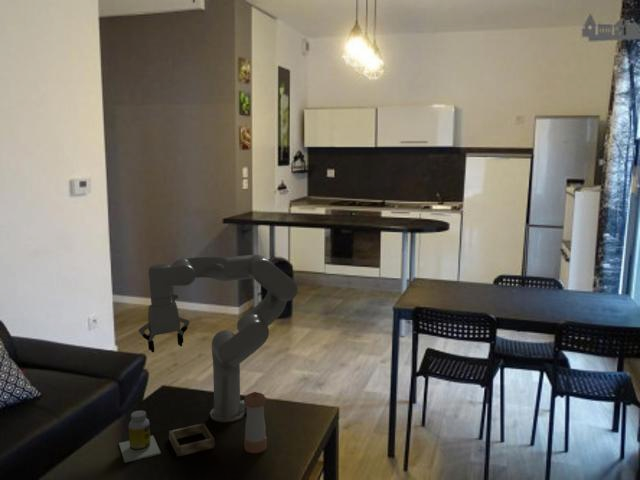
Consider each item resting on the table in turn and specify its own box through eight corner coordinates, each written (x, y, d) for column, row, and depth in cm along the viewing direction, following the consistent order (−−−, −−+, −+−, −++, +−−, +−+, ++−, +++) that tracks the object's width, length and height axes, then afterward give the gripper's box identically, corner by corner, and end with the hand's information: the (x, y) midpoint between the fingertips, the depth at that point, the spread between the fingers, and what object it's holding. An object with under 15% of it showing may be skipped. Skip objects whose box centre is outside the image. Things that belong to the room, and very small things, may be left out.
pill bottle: (143, 453, 174) (142, 419, 173) (125, 451, 176) (123, 417, 174) (154, 443, 181) (152, 410, 179) (136, 441, 182) (135, 408, 180)
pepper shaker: (248, 455, 175) (248, 398, 172) (241, 444, 181) (240, 390, 178) (270, 449, 178) (269, 394, 175) (261, 439, 185) (261, 385, 182)
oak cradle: (204, 431, 190) (204, 423, 190) (214, 447, 180) (214, 439, 179) (169, 439, 185) (168, 430, 184) (177, 456, 174) (177, 447, 174)
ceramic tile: (153, 437, 186) (153, 435, 186) (160, 454, 175) (160, 452, 175) (119, 444, 181) (118, 443, 181) (124, 462, 170) (124, 461, 170)
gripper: (184, 294, 195) (187, 340, 198) (134, 302, 186) (138, 350, 189) (190, 298, 189) (194, 346, 191) (139, 307, 180) (143, 357, 183)
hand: (166, 348), depth 190 cm, fingers open, 9 cm apart
